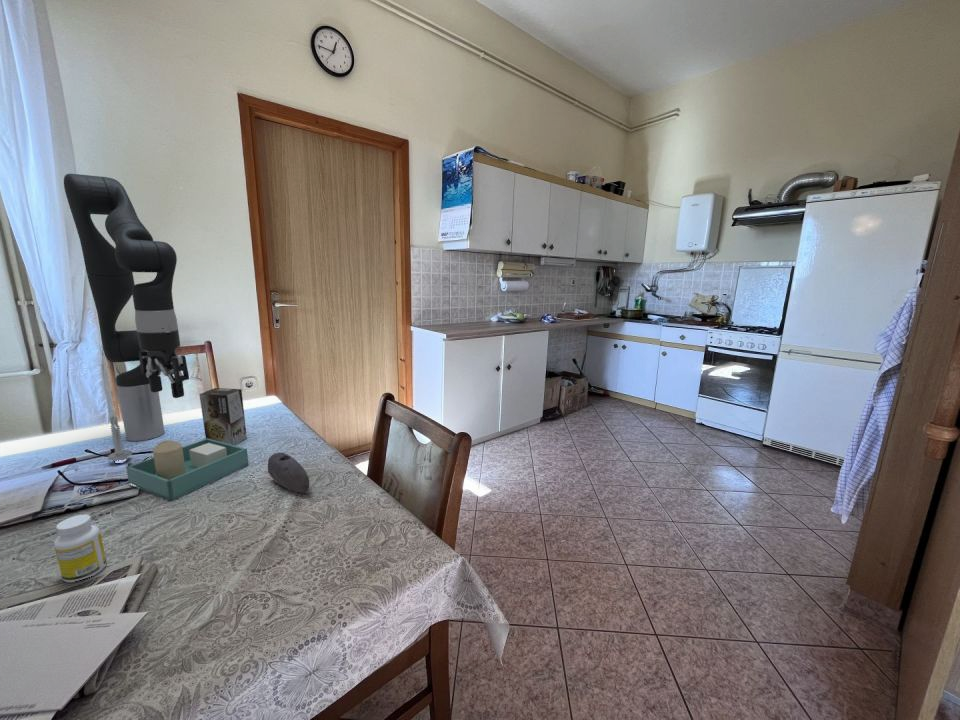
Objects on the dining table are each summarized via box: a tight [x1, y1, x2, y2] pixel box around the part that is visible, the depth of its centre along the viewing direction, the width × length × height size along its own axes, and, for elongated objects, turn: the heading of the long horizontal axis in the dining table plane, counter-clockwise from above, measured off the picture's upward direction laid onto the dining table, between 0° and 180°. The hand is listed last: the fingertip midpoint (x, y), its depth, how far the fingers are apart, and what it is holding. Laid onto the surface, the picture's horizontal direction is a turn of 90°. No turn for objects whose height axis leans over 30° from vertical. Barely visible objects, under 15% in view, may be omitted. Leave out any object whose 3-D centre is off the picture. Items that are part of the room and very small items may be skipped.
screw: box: [107, 416, 133, 462], centre depth 103 cm, size 13×5×5 cm
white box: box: [189, 443, 227, 468], centre depth 102 cm, size 7×5×4 cm
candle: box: [152, 439, 186, 480], centre depth 94 cm, size 6×6×10 cm
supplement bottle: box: [53, 514, 107, 583], centre depth 65 cm, size 5×5×10 cm
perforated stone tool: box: [267, 452, 310, 494], centre depth 94 cm, size 15×5×7 cm, turn 51°
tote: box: [125, 438, 249, 502], centre depth 98 cm, size 16×19×5 cm
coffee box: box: [199, 387, 248, 446], centre depth 117 cm, size 9×6×16 cm
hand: (167, 394), depth 94 cm, fingers open, 8 cm apart
